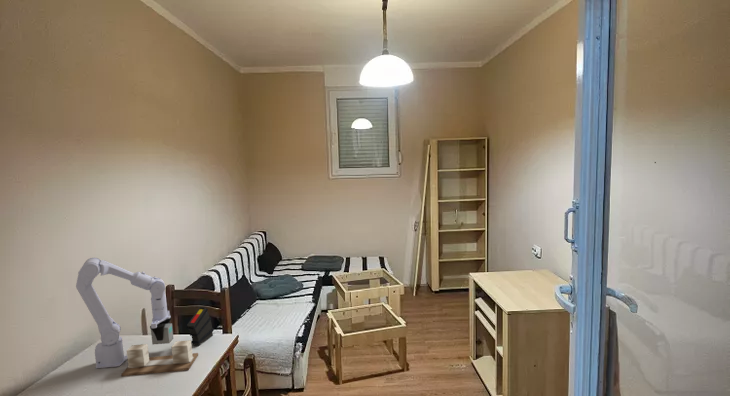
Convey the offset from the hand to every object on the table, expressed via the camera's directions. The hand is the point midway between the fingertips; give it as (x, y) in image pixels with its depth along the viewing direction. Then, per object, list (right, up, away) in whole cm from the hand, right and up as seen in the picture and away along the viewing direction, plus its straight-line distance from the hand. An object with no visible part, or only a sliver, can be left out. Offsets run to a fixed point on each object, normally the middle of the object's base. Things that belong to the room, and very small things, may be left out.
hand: (162, 337), depth 176 cm
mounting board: (+6, -7, -12) cm, 15 cm away
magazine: (+14, -5, +8) cm, 17 cm away
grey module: (0, -2, 0) cm, 2 cm away
